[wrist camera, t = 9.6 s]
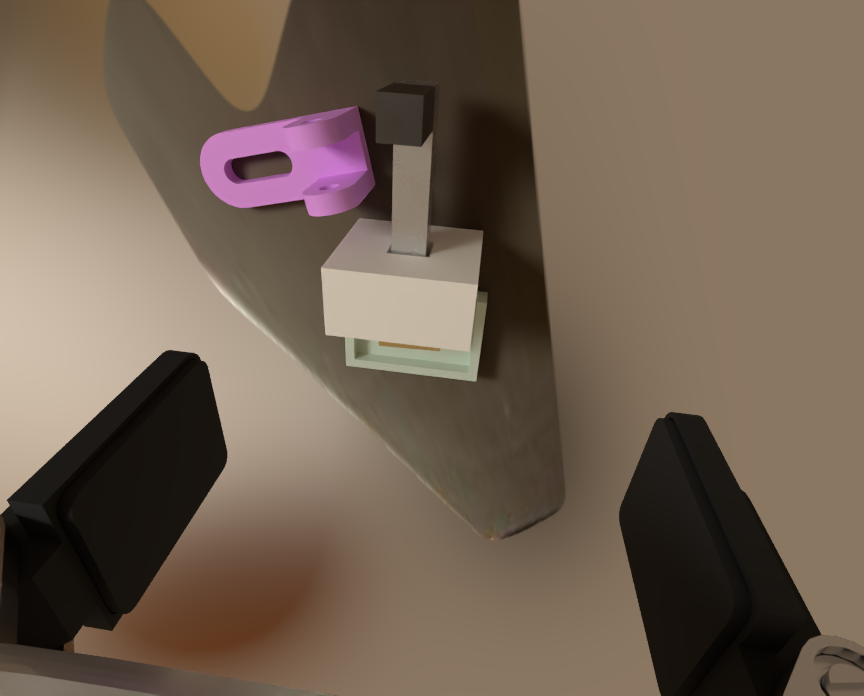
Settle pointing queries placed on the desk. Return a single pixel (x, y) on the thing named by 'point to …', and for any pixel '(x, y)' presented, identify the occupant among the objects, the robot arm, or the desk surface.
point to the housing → (403, 287)
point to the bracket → (295, 162)
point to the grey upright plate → (410, 159)
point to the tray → (422, 354)
